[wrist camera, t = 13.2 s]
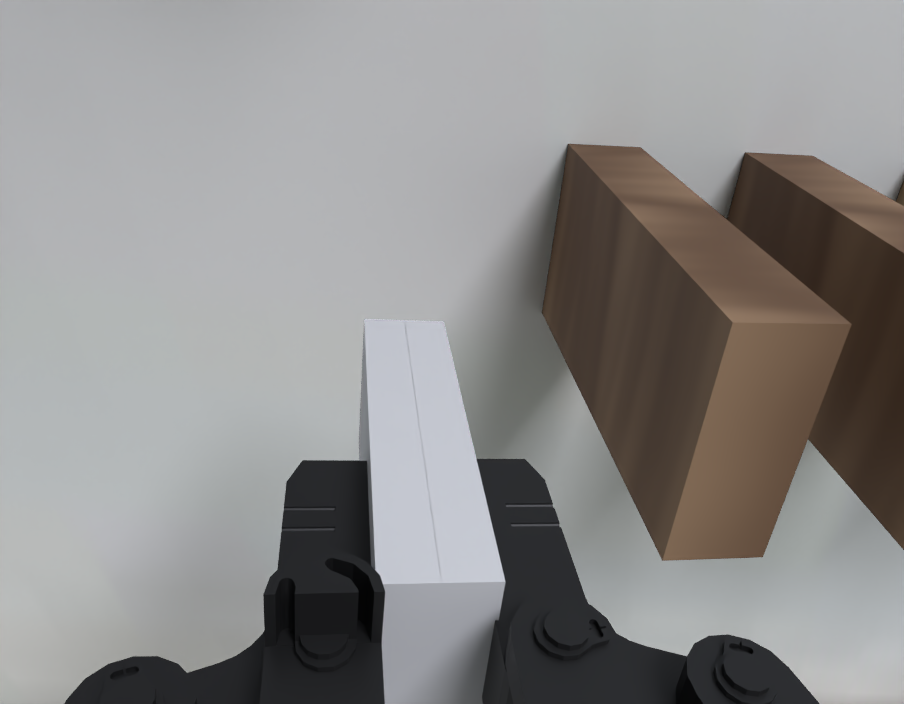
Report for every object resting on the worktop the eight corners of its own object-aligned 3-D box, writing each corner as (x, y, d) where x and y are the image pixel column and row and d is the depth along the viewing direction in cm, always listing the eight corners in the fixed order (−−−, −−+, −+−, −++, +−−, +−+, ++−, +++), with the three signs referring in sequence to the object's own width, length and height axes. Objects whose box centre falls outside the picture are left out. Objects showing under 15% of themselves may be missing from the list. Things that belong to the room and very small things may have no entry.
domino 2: (701, 314, 24) (905, 552, 15) (745, 152, 21) (1019, 326, 13) (762, 316, 24) (996, 549, 15) (812, 156, 22) (1125, 328, 13)
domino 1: (541, 312, 23) (662, 560, 14) (568, 143, 20) (732, 322, 12) (606, 313, 23) (762, 556, 15) (640, 147, 21) (851, 324, 12)
